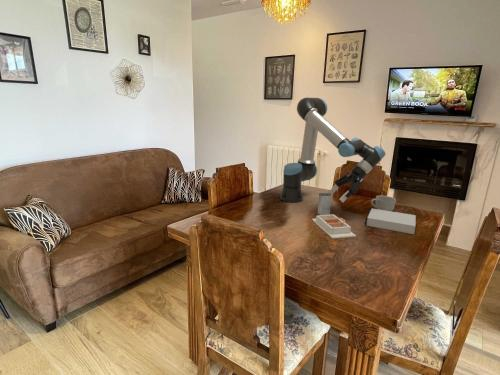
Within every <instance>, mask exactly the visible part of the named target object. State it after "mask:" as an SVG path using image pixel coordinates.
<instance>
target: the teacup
mask: <svg viewBox="0 0 500 375" xmlns="http://www.w3.org/2000/svg"><path fill="white" fill-rule="evenodd" d="M374 201H375V203H374ZM396 201H397V200H396V198H395V197H392V196H388V195H381V194H380V195H376V196H375V198H372V199H371V200H370V204H371V205H372V207H374V209H379V210H385V211H391V212H393V211H394V209H395V206H396V205H395V204H396Z"/></svg>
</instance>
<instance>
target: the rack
mask: <svg viewBox="0 0 500 375" xmlns="http://www.w3.org/2000/svg"><path fill="white" fill-rule="evenodd" d="M315 216H316V217H315V218H311V220H313V221H312V222H314V224H316V225H317V227H319V228H320V229H321V230H322V231H323V232H324V233H326V234H327V236H328V237H330V238H331V239H334V240H335V239H345V238H346V239H347V238H356V237H357V235H356V234H355V233H354V232H352V231H351V230H352V226H350V225H349V224H348V223H347V220H345V218H342V217H339V216H336V215H335V214H333V213H332V214H330V215H319V214H317V215H315Z"/></svg>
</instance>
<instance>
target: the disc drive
mask: <svg viewBox="0 0 500 375" xmlns="http://www.w3.org/2000/svg"><path fill="white" fill-rule="evenodd" d="M416 218H417V217H416V215H415V214H410V213H409V214H408V213H403V212H399V211H398V212H397V211H385V210H379V209H377V208H372V207H370V208H369V210H368V212H367V214H366V216H365V226H367V227H372V228H376V229H382V230H388V231H394V232H399V233H405V234H409V235H410V234H411V235H415V231H416V225H417V224H416V220H417V219H416Z"/></svg>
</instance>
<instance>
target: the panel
mask: <svg viewBox="0 0 500 375" xmlns="http://www.w3.org/2000/svg"><path fill="white" fill-rule="evenodd" d="M331 202H332V195H331V194H330V193H328V192H324V193H323V192H322V193H319V194H318V203H317V215H331V214H330V213H331V205H332V204H331Z"/></svg>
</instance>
